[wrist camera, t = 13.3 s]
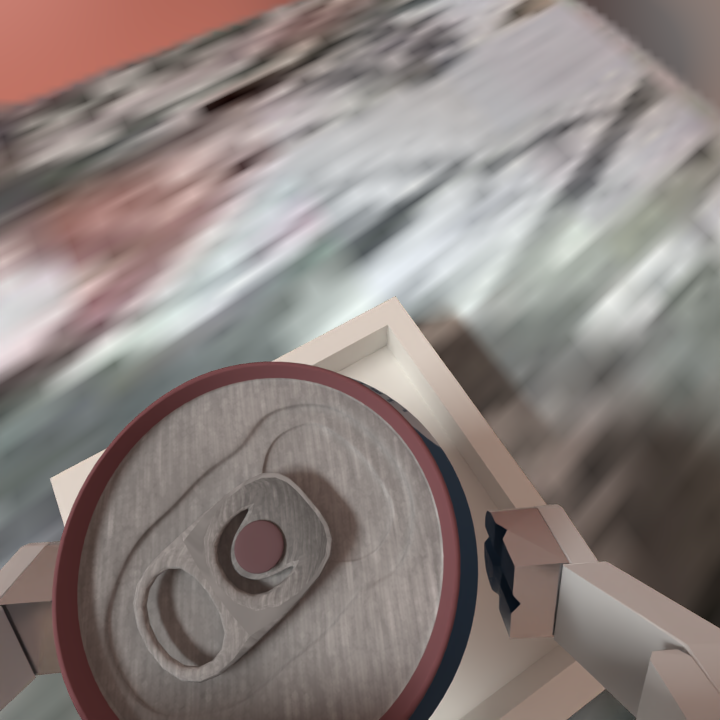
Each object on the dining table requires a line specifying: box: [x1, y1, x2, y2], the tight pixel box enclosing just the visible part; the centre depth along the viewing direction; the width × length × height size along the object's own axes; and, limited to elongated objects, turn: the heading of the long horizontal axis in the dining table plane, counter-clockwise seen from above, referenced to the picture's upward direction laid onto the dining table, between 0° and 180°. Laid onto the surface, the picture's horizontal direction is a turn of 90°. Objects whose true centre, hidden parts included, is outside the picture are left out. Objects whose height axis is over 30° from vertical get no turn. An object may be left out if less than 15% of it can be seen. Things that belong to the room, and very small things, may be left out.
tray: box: [50, 296, 605, 720], centre depth 17 cm, size 15×15×3 cm
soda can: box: [52, 362, 478, 720], centre depth 12 cm, size 7×7×12 cm
